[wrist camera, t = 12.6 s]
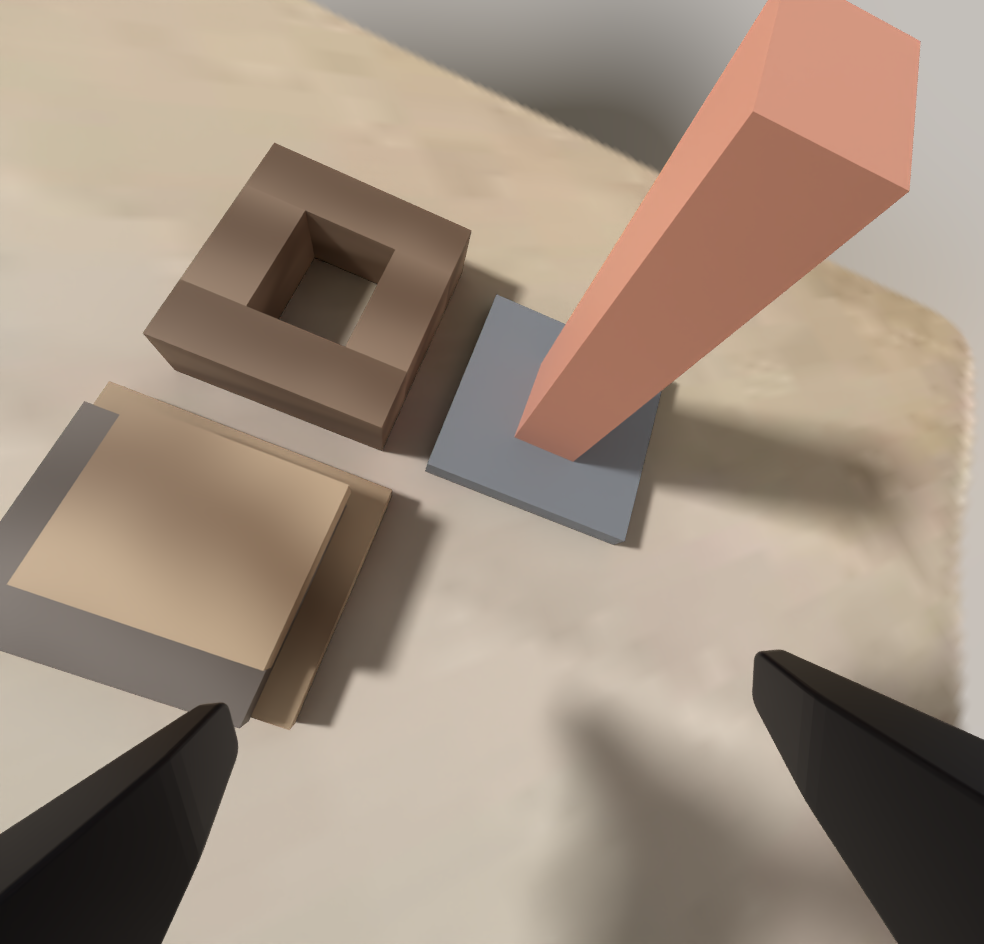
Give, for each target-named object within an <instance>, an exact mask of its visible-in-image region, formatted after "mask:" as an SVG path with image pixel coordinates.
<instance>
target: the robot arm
mask: <svg viewBox="0 0 984 944" xmlns="http://www.w3.org/2000/svg"><path fill="white" fill-rule="evenodd" d="M752 695H753V700H754V704H755V706H756V709H757V711H758V713H759V715H760V716H761V718H762V720H763V722H764V724H765V726H766V728H767V730H768V732H769V734H770V735H771V737H772V739H773V741H774V743H775V745H776V747H777V749H778V751H779V752H780V754H781V756H782V758H783V760H784V762H785V764H786V766H787V768H788V770H789V771H790V773H791V775H792V777H793V779H794V781H795V783H796V785H797V786H798V788H799V790H800V792H801V794H802V795H803V797H804V799H805V801H806V802H807V804H808V805H809V807H810V809H811V810H812V812H813V813H814V815H815V817H816V818H817V820H818V821H819V823H820V824H821V826H822V827H823V829H824V831H825V832H826V834H827V835H828V837H829V838H830V840H831V841H832V843H833V844H834V846H835V847H836V849H837V851H838V852H839V854H840V855H841V857H842V858H843V860H844V861H845V863H846V864H847V866H848V868H849V869H850V871H851V872H852V874H853V875H854V877H855V878H856V880H857V881H858V883H859V884H860V886H861V888H862V889H863V891H864V892H865V894H866V895H867V897H868V898H869V900H870V901H871V903H872V905H873V906H874V908H875V909H876V911H877V912H878V914H879V915H880V917H881V918H882V920H883V921H884V923H885V925H886V926H887V928H888V929H889V931H890V932H891V934H892V935H893V937H894V938H895V940H896V942H897V943H898V944H984V740H983V739H981V738H979V737H976V736H974V735H972V734H970V733H968V732H965V731H963V730H961V729H959V728H956V727H954V726H952V725H950V724H947V723H945V722H943V721H941V720H938V719H936V718H934V717H932V716H929V715H927V714H925V713H923V712H921V711H918V710H916V709H914V708H912V707H909V706H907V705H905V704H903V703H900V702H898V701H896V700H894V699H891V698H889V697H887V696H885V695H882V694H880V693H878V692H876V691H874V690H871V689H869V688H867V687H865V686H862V685H860V684H858V683H856V682H853V681H851V680H849V679H847V678H844V677H842V676H840V675H838V674H836V673H833V672H831V671H829V670H827V669H824V668H822V667H820V666H818V665H815V664H813V663H811V662H809V661H806V660H804V659H802V658H800V657H797V656H795V655H793V654H791V653H789V652H786V651H784V650H768V651H760V652H758V653H757V654H756V655H755V658H754V670H753V688H752ZM237 753H238V740H237V736H236V732H235V728H234V725H233V721H232V717H231V713H230V710H229V707H228V706H227V704H225V703H223V702H219V703H208V704H201V705H198V706H196V707H195V708H193V709H192V710H190V711H189V712H187V713H186V714H184V715H183V716H181V717H179V718H178V719H176V720H175V721H173V722H172V723H170V724H169V725H167V726H166V727H164V728H163V729H161V730H159V731H158V732H156V733H155V734H153V735H152V736H150V737H149V738H147V739H146V740H144V741H143V742H141V743H139V744H138V745H136V746H135V747H133V748H132V749H130V750H129V751H127V752H126V753H124V754H123V755H121V756H119V757H118V758H116V759H115V760H113V761H112V762H110V763H109V764H107V765H106V766H104V767H103V768H101V769H99V770H98V771H96V772H95V773H93V774H92V775H90V776H89V777H87V778H86V779H84V780H83V781H81V782H79V783H78V784H76V785H75V786H73V787H72V788H70V789H69V790H67V791H66V792H64V793H63V794H61V795H59V796H58V797H56V798H55V799H53V800H52V801H50V802H49V803H47V804H46V805H44V806H43V807H41V808H40V809H38V810H36V811H35V812H33V813H32V814H30V815H29V816H27V817H26V818H24V819H23V820H21V821H20V822H18V823H16V824H15V825H13V826H12V827H10V828H9V829H7V830H6V831H4V832H3V833H1V834H0V944H161V943H162V941H163V939H164V937H165V935H166V933H167V930H168V928H169V926H170V924H171V922H172V920H173V917H174V915H175V913H176V911H177V909H178V906H179V904H180V902H181V900H182V898H183V896H184V893H185V891H186V889H187V887H188V885H189V882H190V880H191V878H192V876H193V874H194V871H195V869H196V867H197V864H198V862H199V860H200V857H201V855H202V852H203V850H204V847H205V845H206V842H207V839H208V837H209V834H210V831H211V828H212V825H213V823H214V820H215V817H216V814H217V811H218V809H219V806H220V803H221V800H222V797H223V795H224V792H225V789H226V786H227V783H228V781H229V778H230V775H231V772H232V769H233V767H234V764H235V761H236V758H237Z"/></svg>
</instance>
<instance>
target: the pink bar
mask: <svg viewBox="0 0 984 944" xmlns="http://www.w3.org/2000/svg"><path fill="white" fill-rule="evenodd" d="M919 54H920V41H919V40H917V39H915V38H913V37H912V36H910V35H908V34H906V33H904V32H902V31H901V30H899V29H897V28H895V27H893V26H891V25H890V24H888V23H886V22H884V21H882V20H880V19H879V18H877V17H875V16H873V15H871V14H870V13H868V12H866V11H864V10H862V9H860V8H859V7H857V6H855V5H853V4H851V3H849V2H848V1H846V0H768V1H767V3H766V5H765V6H764V7H763V9H762V11H761V12H760V14H759V15H758V17H757V19H756V20H755V22H754V24H753V25H752V27H751V28H750V30H749V31H748V33H747V35H746V36H745V38H744V40H743V41H742V43H741V44H740V46H739V47H738V49H737V51H736V52H735V54H734V56H733V57H732V59H731V60H730V62H729V64H728V65H727V67H726V68H725V70H724V72H723V73H722V75H721V76H720V78H719V80H718V81H717V83H716V84H715V86H714V88H713V89H712V91H711V93H710V94H709V96H708V97H707V99H706V100H705V102H704V104H703V105H702V107H701V108H700V110H699V112H698V113H697V115H696V116H695V118H694V120H693V121H692V123H691V125H690V126H689V128H688V129H687V131H686V132H685V134H684V136H683V137H682V139H681V141H680V142H679V144H678V145H677V147H676V149H675V150H674V152H673V153H672V155H671V156H670V158H669V160H668V162H667V163H666V164H665V166H664V168H663V169H662V171H661V172H660V174H659V176H658V177H657V179H656V180H655V182H654V184H653V185H652V187H651V188H650V190H649V192H648V193H647V195H646V196H645V198H644V200H643V201H642V203H641V204H640V206H639V208H638V209H637V211H636V212H635V214H634V216H633V217H632V219H631V220H630V222H629V224H628V225H627V227H626V228H625V230H624V232H623V233H622V235H621V236H620V238H619V240H618V241H617V243H616V244H615V246H614V248H613V249H612V251H611V252H610V254H609V256H608V257H607V259H606V261H605V262H604V264H603V265H602V267H601V269H600V270H599V272H598V273H597V275H596V277H595V278H594V280H593V281H592V283H591V285H590V286H589V288H588V289H587V291H586V293H585V294H584V296H583V297H582V299H581V301H580V302H579V304H578V305H577V307H576V309H575V310H574V312H573V313H572V315H571V317H570V318H569V320H568V321H567V323H566V325H565V326H564V328H563V329H562V331H561V333H560V334H559V336H558V337H557V339H556V341H555V342H554V344H553V345H552V347H551V349H550V350H549V352H548V353H547V355H546V357H545V358H544V360H543V361H542V363H541V366H540V368H539V371H538V374H537V376H536V379H535V382H534V385H533V387H532V390H531V393H530V396H529V398H528V401H527V404H526V406H525V409H524V412H523V415H522V417H521V420H520V423H519V426H518V428H517V431H516V434H515V436H514V437H515V438H518V439H520V440H522V441H525V442H527V443H529V444H532V445H534V446H537V447H539V448H541V449H544V450H546V451H548V452H551V453H553V454H556V455H558V456H560V457H563V458H565V459H568V460H570V461H572V462H573V461H575V460H576V459H577V458H578V457H580V456H581V455H582V454H583V453H585V452H586V451H587V450H588V449H590V448H591V447H592V446H593V445H595V444H596V443H597V442H598V441H600V440H601V439H602V438H603V437H605V436H606V435H607V434H608V433H610V432H611V431H612V430H613V429H614V428H616V427H617V426H618V425H619V424H621V423H622V422H623V421H624V420H626V419H627V418H628V417H629V416H631V415H632V414H633V413H634V412H636V411H637V410H638V409H639V408H641V407H642V406H643V405H644V404H646V403H647V402H648V401H649V400H651V399H652V398H653V397H654V396H655V395H657V394H658V393H659V392H660V391H662V390H663V389H664V388H665V387H667V386H668V385H669V384H670V383H672V382H673V381H674V380H675V379H677V378H678V377H679V376H680V375H682V374H683V373H684V372H685V371H687V370H688V369H689V368H690V367H692V366H693V365H694V364H695V363H696V362H698V361H699V360H700V359H701V358H703V357H704V356H705V355H706V354H708V353H709V352H710V351H711V350H713V349H714V348H715V347H716V346H718V345H719V344H720V343H721V342H723V341H724V340H725V339H726V338H728V337H729V336H730V335H731V334H733V333H734V332H735V331H736V330H737V329H739V328H740V327H741V326H742V325H744V324H745V323H746V322H747V321H749V320H750V319H751V318H752V317H754V316H755V315H756V314H757V313H759V312H760V311H761V310H762V309H764V308H765V307H766V306H767V305H769V304H770V303H771V302H772V301H774V300H775V299H776V298H777V297H778V296H780V295H781V294H782V293H783V292H785V291H786V290H787V289H788V288H790V287H791V286H792V285H793V284H795V283H796V282H797V281H798V280H800V279H801V278H802V277H803V276H805V275H806V274H807V273H808V272H810V271H811V270H812V269H813V268H815V267H816V266H817V265H818V264H819V263H821V262H822V261H823V260H824V259H826V258H827V257H828V256H829V255H831V254H832V253H833V252H834V251H835V250H837V249H838V248H839V247H840V246H842V245H843V244H844V243H846V242H847V241H848V240H849V239H850V238H852V237H853V236H854V235H856V234H857V233H858V232H859V231H860V230H862V229H863V228H864V227H865V226H866V225H868V224H869V223H870V222H872V221H873V220H874V219H875V218H877V217H878V216H879V215H880V214H882V213H883V212H884V211H885V210H887V209H888V208H889V207H890V206H891V205H893V204H894V203H895V202H897V201H898V200H899V199H900V198H901V197H903V196H904V195H905V194H906V193H908V192H909V189H910V176H911V162H912V149H913V136H914V122H915V108H916V95H917V82H918V68H919Z"/></svg>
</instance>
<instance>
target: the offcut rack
mask: <svg viewBox="0 0 984 944" xmlns="http://www.w3.org/2000/svg"><path fill="white" fill-rule="evenodd" d="M470 235H471V230H469V229H467V228H465V227H462V226H460V225H458V224H456V223H453V222H451V221H449V220H447V219H444V218H442V217H440V216H438V215H435V214H433V213H431V212H429V211H426V210H424V209H422V208H420V207H417V206H415V205H413V204H411V203H408V202H406V201H404V200H402V199H399V198H397V197H395V196H393V195H390V194H388V193H386V192H384V191H381V190H379V189H377V188H375V187H373V186H370V185H368V184H366V183H364V182H361V181H359V180H357V179H355V178H352V177H350V176H348V175H346V174H343V173H341V172H339V171H337V170H334V169H332V168H330V167H328V166H325V165H323V164H321V163H319V162H316V161H314V160H312V159H310V158H307V157H305V156H303V155H301V154H298V153H296V152H294V151H292V150H289V149H287V148H285V147H283V146H280V145H278V144H276V143H274V144H273V145H272V147H271V148H270V150H269V151H268V153H267V154H266V156H265V157H264V158H263V160H262V161H261V163H260V164H259V166H258V167H257V169H256V170H255V171H254V173H253V174H252V176H251V177H250V179H249V180H248V182H247V183H246V184H245V186H244V187H243V189H242V190H241V192H240V193H239V195H238V196H237V197H236V199H235V200H234V202H233V203H232V205H231V206H230V208H229V209H228V210H227V212H226V213H225V215H224V216H223V218H222V219H221V221H220V222H219V224H218V225H217V226H216V228H215V229H214V231H213V232H212V234H211V235H210V237H209V238H208V239H207V241H206V242H205V244H204V245H203V247H202V248H201V250H200V251H199V252H198V254H197V255H196V257H195V258H194V260H193V261H192V263H191V264H190V265H189V267H188V268H187V270H186V271H185V273H184V274H183V276H182V277H181V278H180V280H179V281H178V283H177V284H176V286H175V287H174V289H173V290H172V291H171V293H170V294H169V296H168V297H167V299H166V300H165V302H164V303H163V304H162V306H161V307H160V309H159V310H158V312H157V313H156V315H155V316H154V317H153V319H152V320H151V322H150V323H149V325H148V326H147V328H146V329H145V330H144V332H143V334H144V335H145V336H146V337H147V338H148V340H149V341H150V342H151V343H152V344H153V345H154V347H155V348H156V349H157V350H158V351H159V352H160V353H161V355H162V356H163V357H164V358H165V359H166V360H167V362H168V363H169V364H170V365H171V366H172V367H173V368H174V370H176V371H179V372H181V373H184V374H187V375H189V376H192V377H194V378H197V379H199V380H202V381H204V382H207V383H210V384H212V385H215V386H217V387H220V388H222V389H225V390H227V391H230V392H233V393H235V394H238V395H240V396H243V397H245V398H248V399H250V400H253V401H256V402H258V403H261V404H263V405H266V406H268V407H271V408H273V409H276V410H279V411H281V412H284V413H286V414H289V415H291V416H294V417H296V418H299V419H302V420H304V421H307V422H309V423H312V424H314V425H317V426H319V427H322V428H325V429H327V430H330V431H332V432H335V433H337V434H340V435H342V436H345V437H348V438H350V439H353V440H355V441H358V442H360V443H363V444H365V445H368V446H371V447H373V448H376V449H378V450H381V451H382V450H383V448H384V446H385V443H386V441H387V439H388V437H389V434H390V432H391V430H392V428H393V425H394V423H395V421H396V419H397V417H398V414H399V412H400V410H401V408H402V405H403V403H404V401H405V399H406V396H407V394H408V392H409V390H410V388H411V385H412V383H413V381H414V379H415V376H416V374H417V372H418V370H419V367H420V365H421V363H422V361H423V358H424V356H425V354H426V352H427V350H428V347H429V345H430V343H431V341H432V338H433V336H434V334H435V332H436V329H437V327H438V325H439V323H440V320H441V318H442V316H443V314H444V312H445V309H446V307H447V305H448V303H449V300H450V298H451V296H452V294H453V291H454V289H455V287H456V285H457V282H458V280H459V278H460V276H461V274H462V270H463V266H464V261H465V257H466V253H467V248H468V244H469V239H470ZM314 257H316V258H318V259H320V260H323V261H325V262H327V263H330V264H332V265H334V266H337V267H339V268H341V269H344V270H346V271H349V272H351V273H353V274H356V275H358V276H360V277H363V278H365V279H367V280H370V281H372V282H374V283H377V286H376V288H375V290H374V292H373V294H372V296H371V298H370V300H369V302H368V304H367V306H366V307H365V309H364V311H363V313H362V315H361V317H360V319H359V321H358V323H357V325H356V327H355V329H354V331H353V333H352V335H351V337H350V338H349V340H348V342H347V344H346V346H342V345H340V344H337V343H335V342H333V341H330V340H328V339H325V338H323V337H320V336H318V335H315V334H313V333H311V332H308V331H306V330H303V329H301V328H298V327H296V326H293V325H291V324H289V323H286V322H284V321H281V320H279V317H280V315H281V314H282V312H283V310H284V309H285V307H286V305H287V303H288V302H289V300H290V298H291V297H292V295H293V293H294V291H295V290H296V288H297V286H298V285H299V283H300V281H301V279H302V278H303V276H304V274H305V273H306V271H307V269H308V267H309V266H310V264H311V262H312V261H313V259H314ZM391 497H392V490H391V489H389V488H386V487H383V486H381V485H378V484H376V483H373V482H370V481H368V480H365V479H362V478H360V477H357V476H355V475H352V474H349V473H347V472H344V471H342V470H339V469H336V468H334V467H331V466H329V465H326V464H323V463H321V462H318V461H316V460H313V459H310V458H308V457H305V456H303V455H300V454H297V453H295V452H292V451H290V450H287V449H284V448H282V447H279V446H277V445H274V444H271V443H269V442H266V441H264V440H261V439H258V438H256V437H253V436H251V435H248V434H245V433H243V432H240V431H238V430H235V429H232V428H230V427H227V426H225V425H222V424H219V423H217V422H214V421H212V420H209V419H206V418H204V417H201V416H199V415H196V414H193V413H191V412H188V411H186V410H183V409H180V408H178V407H175V406H172V405H170V404H167V403H165V402H162V401H159V400H157V399H154V398H152V397H149V396H146V395H144V394H141V393H139V392H136V391H133V390H131V389H128V388H126V387H123V386H120V385H118V384H115V383H113V382H110V381H109V382H108V384H107V385H106V387H105V388H104V389H103V391H102V392H101V394H100V395H99V397H98V398H97V400H96V401H95V402H94V404H90V403H88V402H85V401H84V403H83V404H82V406H81V407H80V408H79V410H78V411H77V413H76V414H75V416H74V417H73V418H72V420H71V421H70V423H69V424H68V426H67V427H66V428H65V430H64V431H63V433H62V434H61V436H60V437H59V438H58V440H57V441H56V443H55V444H54V446H53V447H52V448H51V450H50V451H49V453H48V454H47V456H46V457H45V458H44V460H43V461H42V463H41V464H40V466H39V467H38V468H37V470H36V471H35V473H34V474H33V476H32V477H31V478H30V480H29V481H28V483H27V484H26V486H25V487H24V488H23V490H22V491H21V493H20V494H19V496H18V497H17V498H16V500H15V501H14V503H13V504H12V506H11V507H10V508H9V510H8V511H7V513H6V514H5V516H4V517H3V518H2V520H1V521H0V651H3V652H6V653H9V654H12V655H15V656H18V657H21V658H24V659H27V660H31V661H34V662H37V663H40V664H43V665H46V666H49V667H52V668H55V669H58V670H61V671H64V672H68V673H71V674H74V675H77V676H80V677H83V678H86V679H89V680H92V681H95V682H98V683H101V684H105V685H108V686H111V687H114V688H117V689H120V690H123V691H126V692H129V693H132V694H135V695H138V696H141V697H145V698H148V699H151V700H154V701H157V702H160V703H163V704H166V705H169V706H172V707H175V708H178V709H182V710H185V711H188V712H189V711H190V710H192V709H193V708H195V707H196V706H198V705H201V704H208V703H219V702H223V703H225V704H227V706H228V707H229V710H230V713H231V717H232V721H233V725H234V727H237V728H240V727H242V726H243V725H244V724H246V723H247V722H248V721H249V720H250V717H251V718H254V719H257V720H260V721H263V722H267V723H270V724H273V725H276V726H279V727H282V728H285V729H288V730H290V729H291V727H292V726H293V725H294V724H295V722H296V720H297V717H298V715H299V713H300V710H301V708H302V706H303V703H304V701H305V699H306V696H307V694H308V692H309V689H310V687H311V685H312V682H313V680H314V678H315V675H316V673H317V670H318V668H319V666H320V663H321V661H322V659H323V656H324V654H325V652H326V649H327V647H328V645H329V642H330V640H331V638H332V635H333V633H334V631H335V628H336V626H337V624H338V621H339V619H340V616H341V614H342V612H343V609H344V607H345V605H346V602H347V600H348V598H349V595H350V593H351V591H352V588H353V586H354V584H355V581H356V579H357V577H358V574H359V572H360V569H361V567H362V565H363V562H364V560H365V558H366V555H367V553H368V551H369V548H370V546H371V544H372V541H373V539H374V537H375V534H376V532H377V530H378V527H379V525H380V522H381V520H382V518H383V515H384V513H385V511H386V508H387V506H388V504H389V501H390V499H391Z"/></svg>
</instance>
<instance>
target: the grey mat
mask: <svg viewBox="0 0 984 944" xmlns="http://www.w3.org/2000/svg"><path fill="white" fill-rule="evenodd" d="M565 325H566V324H564V323H561V322H559V321H557V320H554V319H552V318H550V317H548V316H545V315H543V314H541V313H538V312H536V311H534V310H531V309H529V308H527V307H525V306H522V305H520V304H518V303H515V302H513V301H511V300H508V299H506V298H504V297H502V296H499V295H496V297H495V299H494V302H493V304H492V307H491V309H490V312H489V314H488V317H487V319H486V321H485V324H484V326H483V329H482V331H481V334H480V336H479V339H478V341H477V343H476V346H475V348H474V351H473V353H472V356H471V358H470V361H469V363H468V365H467V368H466V370H465V373H464V375H463V378H462V380H461V383H460V385H459V387H458V390H457V392H456V395H455V397H454V400H453V402H452V405H451V407H450V409H449V412H448V414H447V417H446V419H445V422H444V424H443V427H442V429H441V431H440V434H439V436H438V439H437V441H436V444H435V446H434V449H433V451H432V453H431V456H430V458H429V461H428V463H427V467H426V470H425V471H426V472H429V473H431V474H434V475H436V476H439V477H441V478H444V479H446V480H449V481H452V482H454V483H457V484H459V485H462V486H464V487H467V488H470V489H472V490H475V491H477V492H480V493H482V494H485V495H487V496H490V497H493V498H495V499H498V500H500V501H503V502H505V503H508V504H510V505H513V506H516V507H518V508H521V509H523V510H526V511H528V512H531V513H533V514H536V515H539V516H541V517H544V518H546V519H549V520H551V521H554V522H557V523H559V524H562V525H564V526H567V527H569V528H572V529H574V530H577V531H580V532H582V533H585V534H587V535H590V536H592V537H595V538H597V539H600V540H603V541H605V542H608V543H610V544H613V545H614V544H617V543H620V542H624V541H625V538H626V534H627V530H628V526H629V521H630V517H631V513H632V509H633V505H634V501H635V497H636V493H637V489H638V485H639V481H640V477H641V473H642V469H643V465H644V461H645V456H646V452H647V448H648V444H649V440H650V436H651V432H652V428H653V424H654V420H655V416H656V412H657V408H658V404H659V400H660V396H661V391H660V392H659V393H658V394H657V395H655V396H654V397H653V398H652V399H651V400H649V401H648V402H647V403H646V404H644V405H643V406H642V407H641V408H639V409H638V410H637V411H636V412H634V413H633V414H632V415H631V416H629V417H628V418H627V419H626V420H624V421H623V422H622V423H621V424H619V425H618V426H617V427H616V428H614V429H613V430H612V431H611V432H610V433H608V434H607V435H606V436H605V437H603V438H602V439H601V440H600V441H598V442H597V443H596V444H595V445H593V446H592V447H591V448H590V449H588V450H587V451H586V452H585V453H583V454H582V455H581V456H580V457H578V458H577V459H576V460H575V461H573V462H572V461H570V460H568V459H565V458H563V457H560V456H558V455H556V454H553V453H551V452H548V451H546V450H544V449H541V448H539V447H537V446H534V445H532V444H529V443H527V442H525V441H522V440H520V439H518V438H515V437H514V436H515V434H516V431H517V428H518V426H519V423H520V420H521V417H522V415H523V412H524V409H525V406H526V404H527V401H528V398H529V396H530V393H531V390H532V387H533V385H534V382H535V379H536V376H537V374H538V371H539V368H540V366H541V363H542V361H543V360H544V358H545V357H546V355H547V353H548V352H549V350H550V349H551V347H552V345H553V344H554V342H555V341H556V339H557V337H558V336H559V334H560V333H561V331H562V329H563V328H564V326H565Z"/></svg>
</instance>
